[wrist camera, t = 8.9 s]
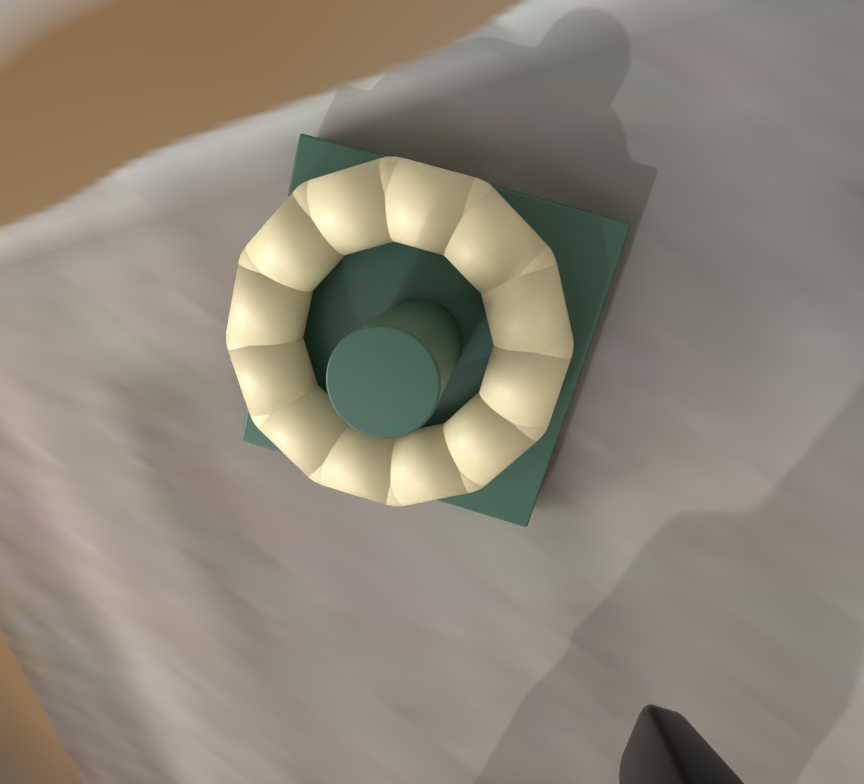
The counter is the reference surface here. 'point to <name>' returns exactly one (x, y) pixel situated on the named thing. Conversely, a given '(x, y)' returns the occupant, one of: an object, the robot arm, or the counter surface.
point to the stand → (440, 330)
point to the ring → (473, 257)
